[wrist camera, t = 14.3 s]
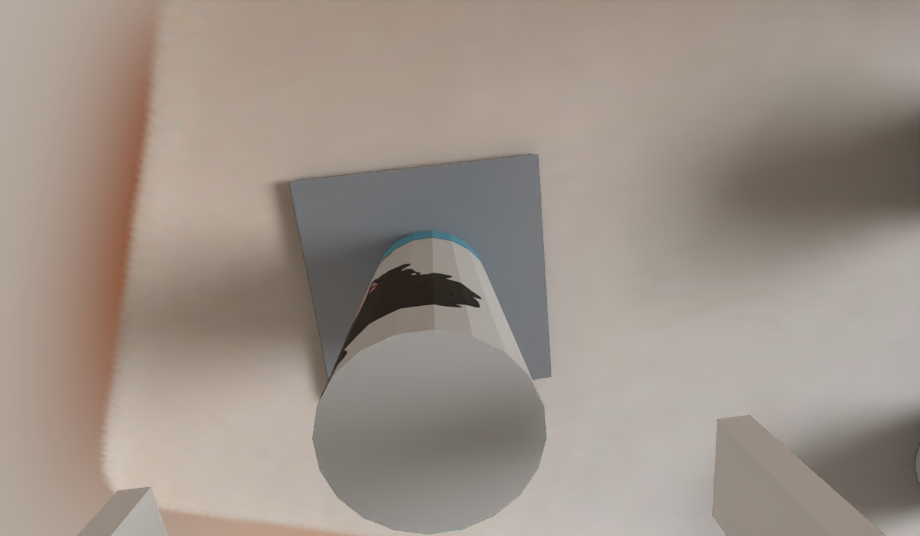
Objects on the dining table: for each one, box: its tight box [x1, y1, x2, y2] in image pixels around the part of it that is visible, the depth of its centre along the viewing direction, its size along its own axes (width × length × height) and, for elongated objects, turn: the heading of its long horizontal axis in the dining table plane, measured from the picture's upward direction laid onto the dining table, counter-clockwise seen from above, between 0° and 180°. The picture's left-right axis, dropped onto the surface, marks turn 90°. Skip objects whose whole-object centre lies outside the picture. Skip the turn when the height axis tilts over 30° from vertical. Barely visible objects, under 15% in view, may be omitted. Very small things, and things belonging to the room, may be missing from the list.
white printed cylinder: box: [312, 230, 546, 534], centre depth 21 cm, size 7×7×15 cm
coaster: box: [289, 154, 551, 379], centre depth 28 cm, size 14×14×1 cm
